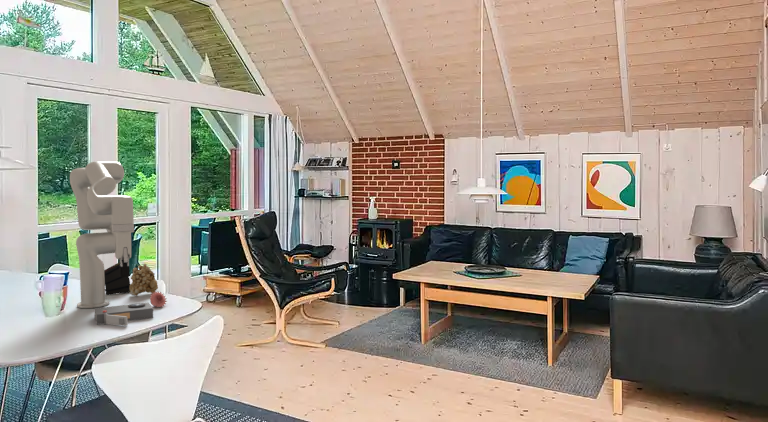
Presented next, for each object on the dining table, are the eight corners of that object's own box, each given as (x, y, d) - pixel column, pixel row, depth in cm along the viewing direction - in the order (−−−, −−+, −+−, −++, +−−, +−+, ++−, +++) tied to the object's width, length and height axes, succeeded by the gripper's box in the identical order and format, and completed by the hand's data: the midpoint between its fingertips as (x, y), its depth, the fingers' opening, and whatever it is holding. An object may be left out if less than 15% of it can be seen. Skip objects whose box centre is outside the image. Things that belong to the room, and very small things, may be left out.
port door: (106, 323, 216) (105, 313, 216) (128, 325, 213) (127, 315, 212) (102, 324, 215) (102, 314, 214) (124, 326, 211) (124, 316, 211)
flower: (146, 292, 246) (152, 286, 243) (163, 297, 251) (170, 291, 248) (144, 308, 241) (150, 302, 239) (162, 312, 246) (168, 307, 243)
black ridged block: (138, 288, 277) (122, 261, 272) (111, 302, 270) (95, 276, 266) (136, 286, 280) (121, 261, 275) (110, 301, 273) (94, 275, 269)
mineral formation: (126, 295, 267) (125, 264, 266) (154, 291, 277) (153, 261, 276) (134, 298, 262) (132, 266, 261) (162, 293, 271) (161, 262, 270)
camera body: (94, 317, 225) (94, 306, 225) (148, 311, 236) (148, 300, 235) (97, 324, 215) (96, 313, 215) (153, 317, 225) (152, 306, 225)
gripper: (110, 227, 219) (112, 274, 220) (114, 230, 206) (116, 280, 207) (131, 226, 223) (133, 273, 224) (136, 229, 210) (138, 278, 211)
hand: (124, 276), depth 215 cm, fingers closed
